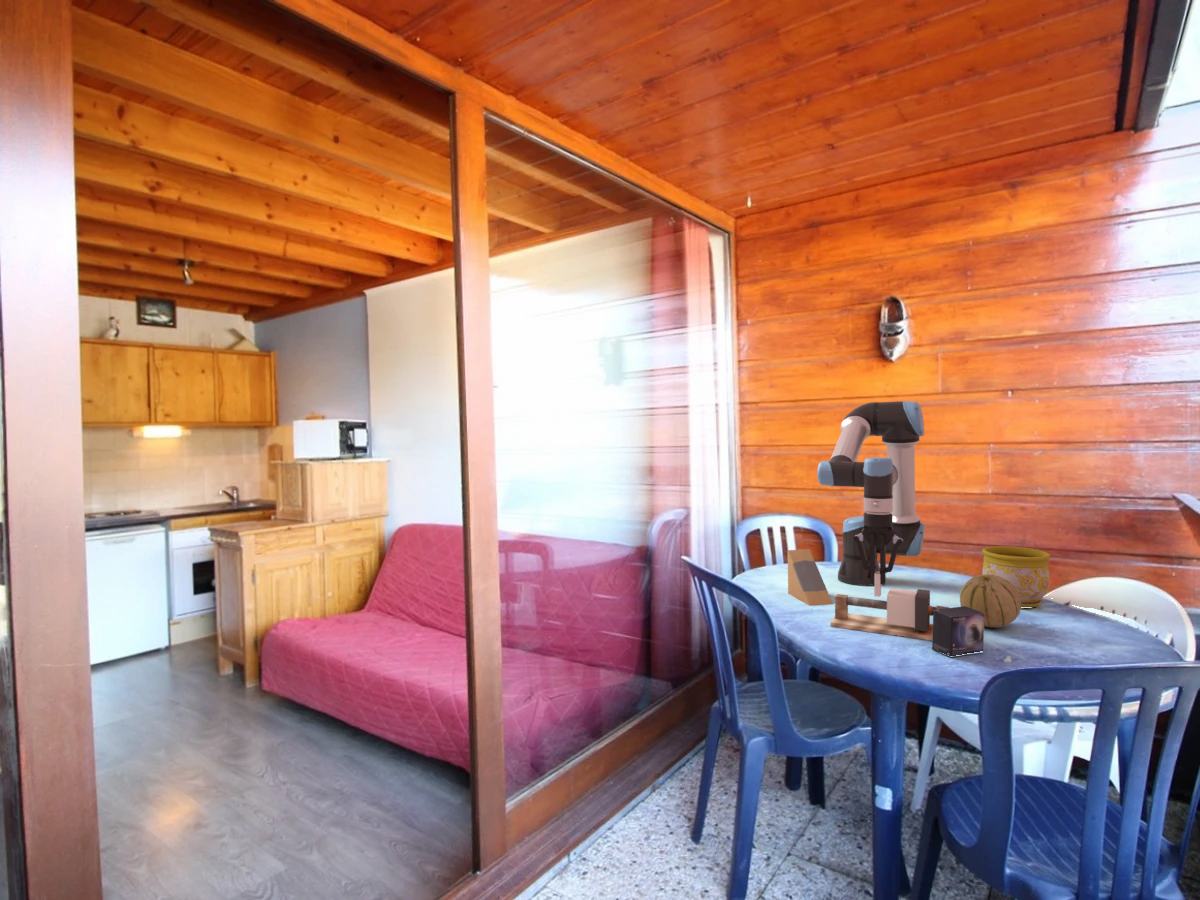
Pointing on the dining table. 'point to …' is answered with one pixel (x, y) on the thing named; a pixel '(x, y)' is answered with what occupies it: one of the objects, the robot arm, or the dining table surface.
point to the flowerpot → (1020, 570)
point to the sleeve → (901, 607)
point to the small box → (958, 630)
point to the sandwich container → (806, 579)
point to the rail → (874, 618)
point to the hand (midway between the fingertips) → (877, 595)
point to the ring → (922, 610)
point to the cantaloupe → (992, 599)
